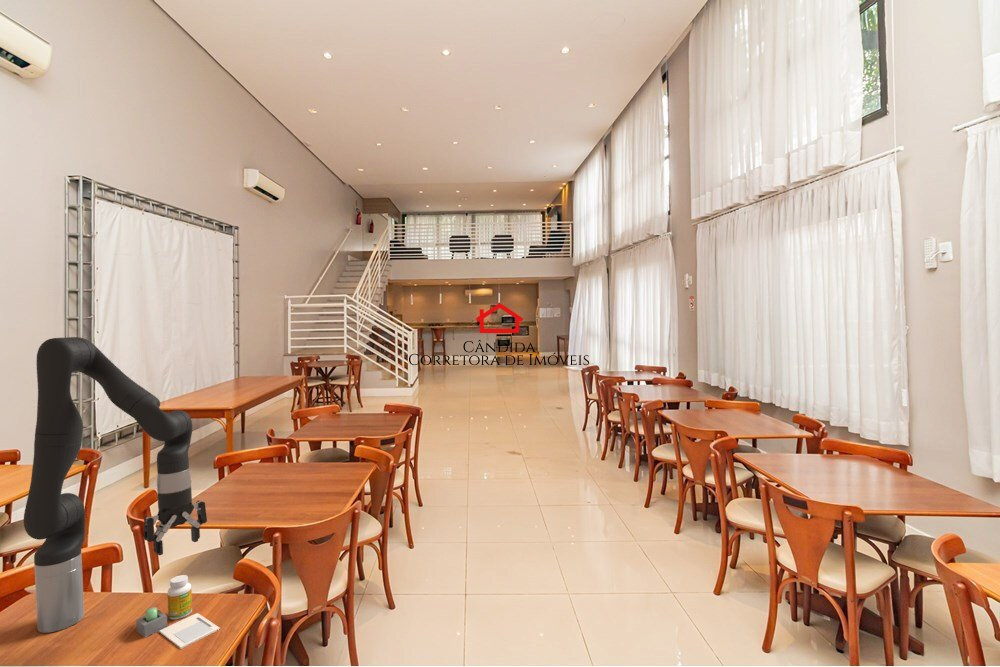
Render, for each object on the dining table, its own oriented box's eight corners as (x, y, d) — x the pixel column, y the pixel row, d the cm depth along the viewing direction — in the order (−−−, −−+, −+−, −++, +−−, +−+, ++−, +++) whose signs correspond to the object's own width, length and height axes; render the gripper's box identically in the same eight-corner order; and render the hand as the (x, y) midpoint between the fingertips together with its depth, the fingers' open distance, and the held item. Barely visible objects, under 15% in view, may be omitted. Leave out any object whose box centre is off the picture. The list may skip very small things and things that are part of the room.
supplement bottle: (180, 621, 130) (179, 584, 129) (163, 619, 131) (161, 583, 130) (197, 609, 135) (195, 574, 135) (180, 607, 136) (178, 572, 136)
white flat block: (159, 632, 125) (159, 630, 125) (197, 614, 133) (197, 612, 133) (181, 649, 118) (180, 647, 118) (219, 629, 126) (219, 627, 126)
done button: (144, 623, 126) (143, 610, 126) (155, 618, 128) (154, 606, 128) (148, 626, 125) (147, 613, 125) (159, 621, 127) (158, 609, 127)
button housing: (136, 631, 126) (136, 619, 126) (159, 621, 130) (158, 609, 130) (144, 637, 123) (144, 625, 123) (167, 627, 127) (166, 615, 127)
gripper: (196, 477, 139) (199, 534, 139) (137, 493, 127) (140, 555, 127) (209, 481, 135) (212, 540, 135) (150, 498, 123) (153, 562, 123)
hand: (177, 547), depth 131 cm, fingers open, 8 cm apart
